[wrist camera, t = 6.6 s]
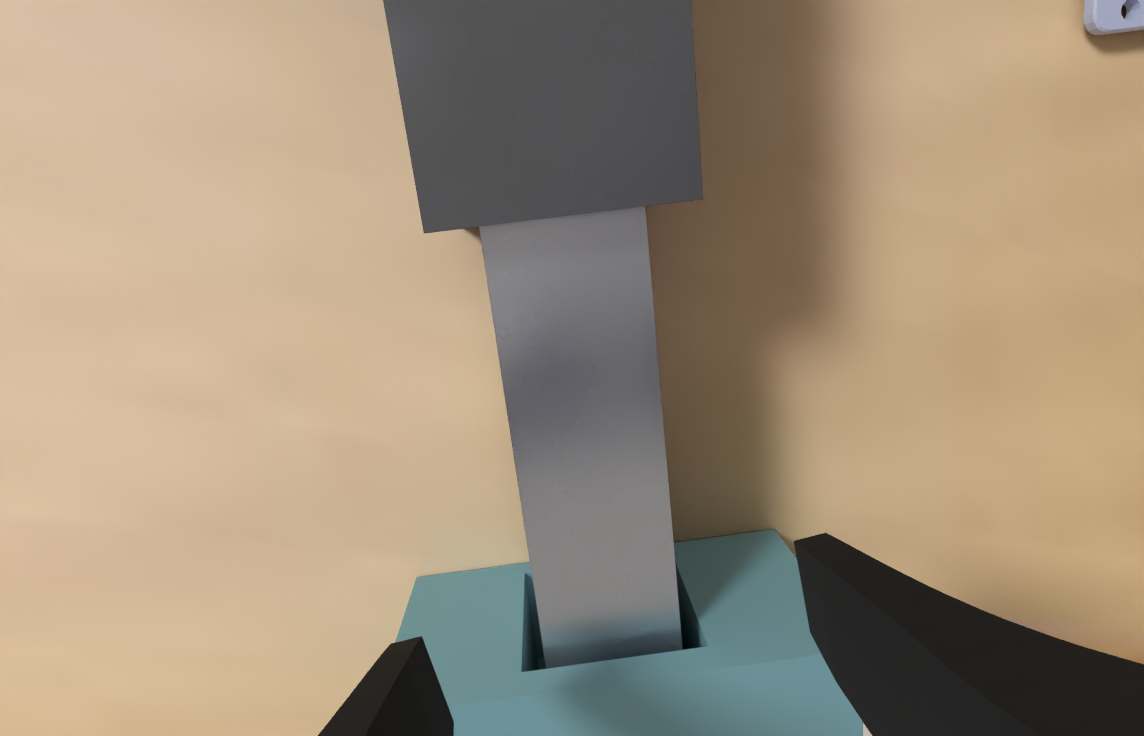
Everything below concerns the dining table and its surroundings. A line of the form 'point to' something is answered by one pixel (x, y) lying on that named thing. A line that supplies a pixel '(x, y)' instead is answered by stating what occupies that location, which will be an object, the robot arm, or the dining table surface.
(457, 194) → the dark grey rectangular bar
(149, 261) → the dining table surface
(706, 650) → the socket block
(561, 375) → the grey square bar
